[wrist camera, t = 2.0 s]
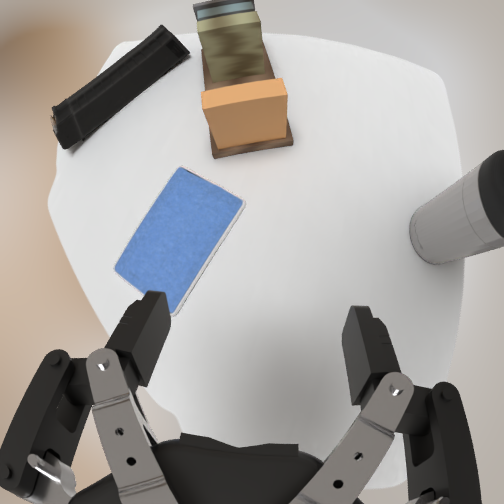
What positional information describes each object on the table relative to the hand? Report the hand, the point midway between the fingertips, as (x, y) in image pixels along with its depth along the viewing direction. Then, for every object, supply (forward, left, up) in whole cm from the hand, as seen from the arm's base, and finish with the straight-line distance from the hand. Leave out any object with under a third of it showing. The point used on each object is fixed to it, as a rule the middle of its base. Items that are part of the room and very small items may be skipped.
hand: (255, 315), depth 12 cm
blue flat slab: (+12, -11, -26) cm, 31 cm away
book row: (-1, -35, -25) cm, 43 cm away
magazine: (+20, -41, -26) cm, 53 cm away
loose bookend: (-1, -24, -24) cm, 34 cm away
